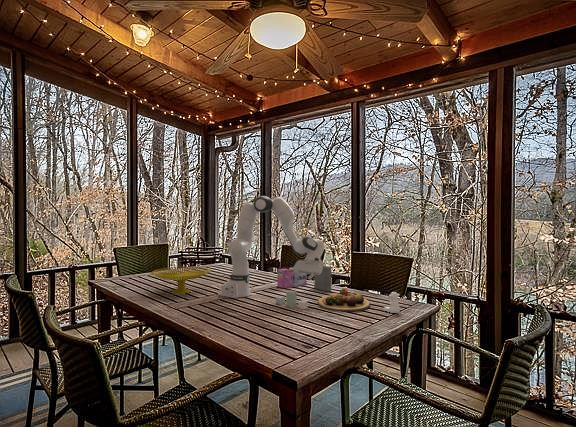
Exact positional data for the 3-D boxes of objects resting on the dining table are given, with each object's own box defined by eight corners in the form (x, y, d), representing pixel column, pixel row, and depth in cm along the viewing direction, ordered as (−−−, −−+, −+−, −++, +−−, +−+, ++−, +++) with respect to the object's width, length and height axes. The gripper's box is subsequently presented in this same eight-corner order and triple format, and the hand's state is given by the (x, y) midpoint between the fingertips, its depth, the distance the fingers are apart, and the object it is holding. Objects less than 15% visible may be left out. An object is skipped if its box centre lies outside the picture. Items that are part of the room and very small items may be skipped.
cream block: (298, 308, 211) (298, 301, 210) (301, 306, 214) (302, 300, 214) (303, 309, 208) (303, 302, 208) (307, 307, 211) (307, 301, 211)
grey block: (275, 303, 221) (275, 297, 221) (279, 302, 224) (279, 295, 224) (280, 304, 218) (281, 298, 218) (284, 303, 222) (284, 296, 221)
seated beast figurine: (398, 309, 208) (398, 289, 208) (405, 314, 200) (405, 293, 200) (382, 310, 207) (383, 290, 207) (389, 314, 198) (389, 293, 198)
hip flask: (332, 291, 254) (332, 263, 254) (328, 291, 252) (328, 263, 251) (316, 287, 266) (316, 260, 266) (312, 287, 264) (312, 261, 263)
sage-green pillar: (286, 305, 216) (286, 291, 215) (290, 304, 219) (290, 290, 219) (292, 306, 213) (292, 292, 213) (296, 305, 216) (296, 291, 216)
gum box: (302, 282, 282) (302, 265, 282) (308, 284, 276) (308, 267, 276) (277, 286, 269) (277, 268, 268) (282, 288, 262) (282, 270, 262)
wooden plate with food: (327, 296, 241) (327, 284, 240) (374, 301, 227) (374, 288, 226) (309, 309, 212) (309, 295, 212) (362, 316, 198) (362, 301, 198)
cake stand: (189, 302, 222) (189, 278, 222) (137, 296, 235) (137, 274, 235) (221, 288, 260) (221, 268, 260) (174, 284, 273) (174, 264, 273)
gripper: (296, 256, 238) (287, 273, 230) (322, 259, 225) (314, 277, 218) (300, 262, 241) (291, 278, 234) (326, 265, 229) (318, 283, 221)
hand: (302, 278), depth 226 cm, fingers open, 8 cm apart
